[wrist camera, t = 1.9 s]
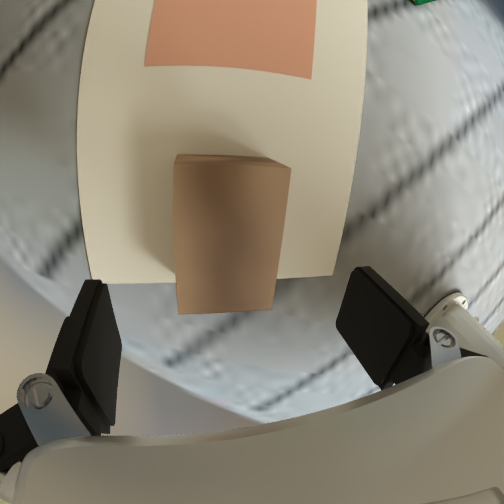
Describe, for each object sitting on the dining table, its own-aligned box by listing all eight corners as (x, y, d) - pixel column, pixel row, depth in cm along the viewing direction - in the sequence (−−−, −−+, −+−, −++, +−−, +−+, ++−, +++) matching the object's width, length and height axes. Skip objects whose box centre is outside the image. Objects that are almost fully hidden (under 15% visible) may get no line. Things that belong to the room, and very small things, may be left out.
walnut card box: (267, 157, 18) (291, 168, 14) (255, 274, 22) (271, 309, 18) (177, 154, 16) (173, 163, 13) (178, 276, 20) (178, 314, 16)
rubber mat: (364, -26, 12) (366, -27, 11) (331, 273, 24) (333, 276, 23) (116, -56, 7) (115, -59, 7) (94, 281, 19) (92, 284, 19)
